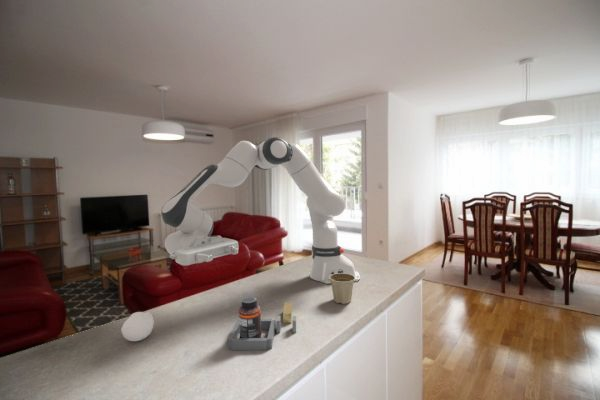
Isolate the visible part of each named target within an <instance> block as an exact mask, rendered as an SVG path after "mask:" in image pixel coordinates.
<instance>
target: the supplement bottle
mask: <svg viewBox="0 0 600 400" xmlns="http://www.w3.org/2000/svg"><path fill="white" fill-rule="evenodd" d="M257 303H258V302H257V298H256V297H254V296H246V297H243V298H242V299H241V306H240V307H239V309H238V320H239V332H240V333H239V338H262V329H261V319H262V314H261V312H262V311H261V307H260V305H259V304H257Z"/></svg>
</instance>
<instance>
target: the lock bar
mask: <svg viewBox="0 0 600 400" xmlns="http://www.w3.org/2000/svg"><path fill="white" fill-rule="evenodd" d="M282 316H283V317H282V320H283V321H282V323H283V324H292V319H293V302H290V301H289V302H286V301H285V302H284V306H283V313H282Z"/></svg>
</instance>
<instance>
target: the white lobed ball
mask: <svg viewBox="0 0 600 400" xmlns="http://www.w3.org/2000/svg"><path fill="white" fill-rule="evenodd" d="M154 324H155V322H154V315H152V313H151V312H148V311H146V312H143V311H136V312H133V313H132V314H130V317H129V318H127V319H126V320H125V321H124V322H123V324H122V327H121V328H120V332H121V334H122V337H124V339H126V340H127V341H129V342H130V341H131V342H139V341H142V340H144V339H146V338H148V337H149V335H151V333H152V330H153V329H154Z"/></svg>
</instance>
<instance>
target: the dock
mask: <svg viewBox="0 0 600 400" xmlns="http://www.w3.org/2000/svg"><path fill="white" fill-rule="evenodd" d="M281 318H282V317H281V315H277V316H276V319H272V318H261V330H268V333H267V337H261V338H240V337H239V336H240V332H239V319H238V320H236V322H235V324H234V326H233V327H232V330H231V332H230V334H229V336H228V338H227V349H228V350H232V351H267V350H268V349H269V350H270V349H273V345H274V339H275V333H276V334H280V333H281V330H282V321H281V320H282V319H281ZM291 324H292V325H291V326H292V333H294V334H296V333H297V315H292V323H291Z"/></svg>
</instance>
